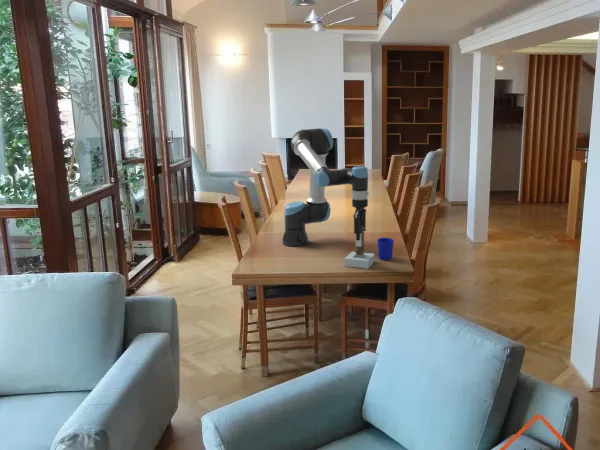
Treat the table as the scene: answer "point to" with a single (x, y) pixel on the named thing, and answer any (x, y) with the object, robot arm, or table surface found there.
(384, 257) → the mug
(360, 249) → the peg
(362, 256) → the socket
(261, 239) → the table surface
